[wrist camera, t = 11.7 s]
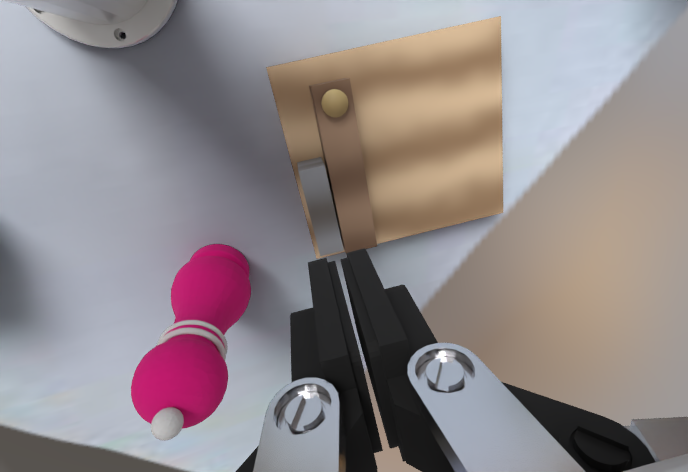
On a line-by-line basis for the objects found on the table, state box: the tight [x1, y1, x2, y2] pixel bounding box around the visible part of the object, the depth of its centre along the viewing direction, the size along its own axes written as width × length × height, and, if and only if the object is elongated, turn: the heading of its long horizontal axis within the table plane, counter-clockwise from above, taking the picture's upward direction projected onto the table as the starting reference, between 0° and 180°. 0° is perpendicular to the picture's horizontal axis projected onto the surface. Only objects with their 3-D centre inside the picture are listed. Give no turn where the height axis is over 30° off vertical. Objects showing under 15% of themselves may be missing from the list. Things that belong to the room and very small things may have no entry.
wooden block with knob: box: [266, 16, 503, 259], centre depth 33 cm, size 18×20×6 cm
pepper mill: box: [131, 244, 251, 440], centre depth 30 cm, size 7×7×20 cm
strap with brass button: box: [309, 78, 377, 253], centre depth 32 cm, size 14×3×4 cm, turn 11°
